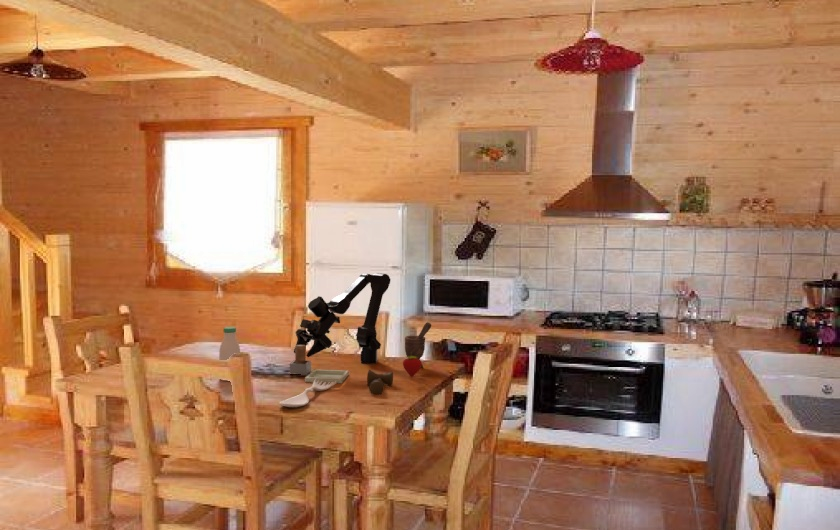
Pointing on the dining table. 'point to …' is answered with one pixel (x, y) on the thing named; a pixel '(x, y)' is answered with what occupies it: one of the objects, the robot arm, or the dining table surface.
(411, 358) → the strawberry
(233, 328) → the milk bottle
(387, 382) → the kendama
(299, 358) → the walnut dowel
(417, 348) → the mortar and pestle
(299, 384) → the dining table surface
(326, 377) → the sage tray
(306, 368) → the stoneware holder
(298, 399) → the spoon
